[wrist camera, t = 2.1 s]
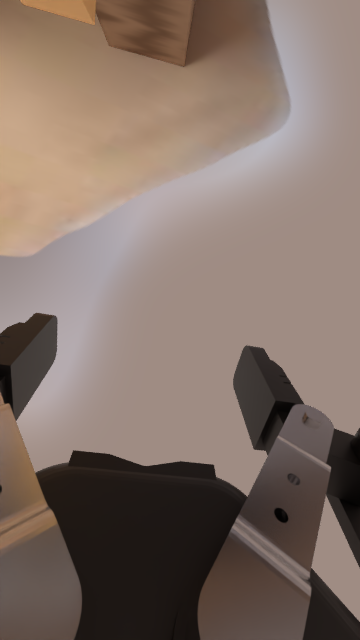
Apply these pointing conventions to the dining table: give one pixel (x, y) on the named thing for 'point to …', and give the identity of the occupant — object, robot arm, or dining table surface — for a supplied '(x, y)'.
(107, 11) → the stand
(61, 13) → the block
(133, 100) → the dining table surface
